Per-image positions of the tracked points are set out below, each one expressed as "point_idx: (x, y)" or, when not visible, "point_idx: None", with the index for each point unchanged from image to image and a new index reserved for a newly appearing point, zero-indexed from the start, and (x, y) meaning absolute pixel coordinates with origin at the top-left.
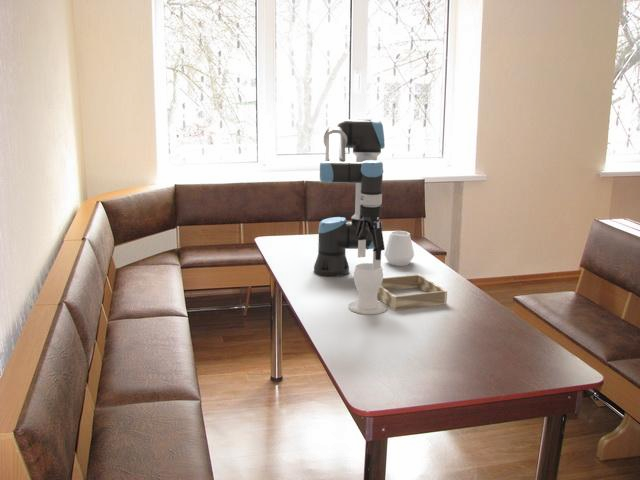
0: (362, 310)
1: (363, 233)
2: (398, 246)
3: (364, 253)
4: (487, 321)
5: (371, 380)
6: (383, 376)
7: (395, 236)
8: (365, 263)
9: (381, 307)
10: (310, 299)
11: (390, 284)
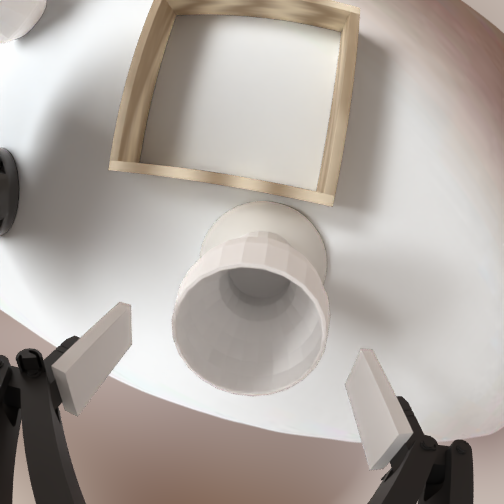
0: None
1: (68, 465)
2: (7, 8)
3: (120, 322)
4: (479, 60)
5: (491, 408)
6: (498, 393)
7: None
8: (176, 313)
9: (295, 231)
10: (135, 355)
11: (143, 93)
